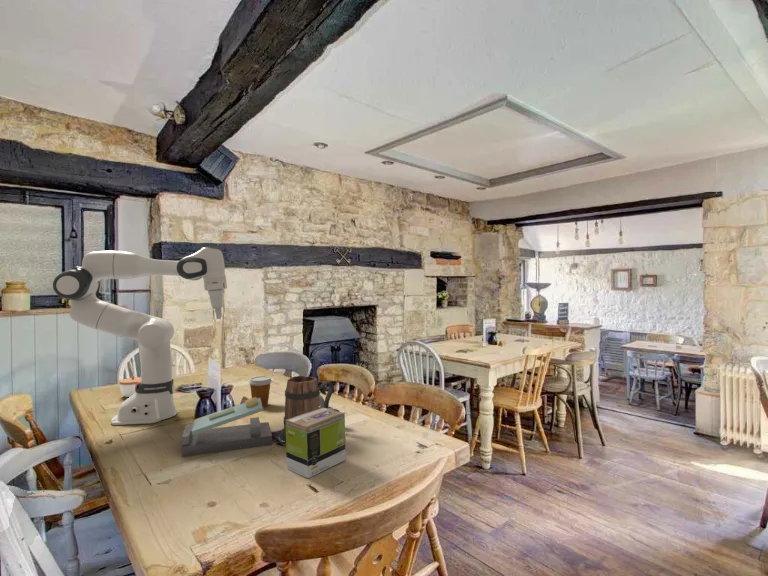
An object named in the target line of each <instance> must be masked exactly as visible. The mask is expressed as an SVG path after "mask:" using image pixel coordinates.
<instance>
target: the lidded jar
mask: <svg viewBox="0 0 768 576" xmlns="http://www.w3.org/2000/svg"><path fill="white" fill-rule="evenodd" d="M138 381H141V376H136V377H135V375H132V376H131V377H128V378H124V379H121V380H119V382H118V383H119V390H120V392H121V394H122V395H123V396H124V397H125V398H127V397H130V396H131V395H133V394H134V393H135V392H136V391H135V385H136V383H137V382H138Z"/></svg>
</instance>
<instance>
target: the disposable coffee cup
mask: <svg viewBox="0 0 768 576" xmlns="http://www.w3.org/2000/svg"><path fill="white" fill-rule="evenodd" d="M271 383H272V379H271V376H268V375H265V376H264V375H262V376H253V377H250V378H249V381H248V384H249V387H250V393H251V394H250V395H251V398H254V397H257V399H258V398H260V399H261V403H262V407H263V408H265V407H268V405H269V398H270V389H271Z"/></svg>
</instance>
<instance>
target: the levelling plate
mask: <svg viewBox="0 0 768 576" xmlns="http://www.w3.org/2000/svg"><path fill="white" fill-rule="evenodd" d="M260 412H264V407H262V403H261V399H260V398H258V399H257V397H254V398H252V397H250V398H248V399H246V400H245V401H244V402H243V403H239V404H237V405H234V406H231V407H228V408H225V409H222V410H219V411H216V412H213V413H211V414H207V415H204V416H201V417H198V418H195V419H194V422H193V428H192V435H194V434H197V433H200V432H203V431H206V430H209V429H212V428H218V427H220V426H223V425H227V424H228V423H232V422H235V421H237V420H241V419H243V418H246V417H250V416H252V415H254V414H255V415H256V414H257V413H260Z"/></svg>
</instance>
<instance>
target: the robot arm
mask: <svg viewBox="0 0 768 576" xmlns="http://www.w3.org/2000/svg"><path fill="white" fill-rule="evenodd" d="M81 261H82V262H81V266H74V267H71V268H70V269H67V270H66V271H62V272H60V273H59V274H58V275H56V277H54V280H53V282H52V289H53V291H54V293H56V295H57V296H59V297H60V298H62V299H64V300H69V301H71V306H70V308H69V317H70V318H71V319H72V320H73V321H75V322H76V323H79V324H80V325H82V326H85V327H87V328H91V329H94V330H96V331H99V332H102V333H106V334H109V335H111V336H116V337H119V338H126V339H131V340H135V341H137V344H138V352H139V359H140V360H139V361H140V377H141V381H138V382H137V383H136V385H135V391H136V392H135V393H134V394H133V395H131V396H130V397H129V398H126V399H125V400H124V401H122V403H120V405H119V408H118V411H117V414H115V415H114V416H113V417H112V418H111V420H110V424H111V426H112V425H113V426H123V425H126V426H127V425H141V424H142V425H144V424H154V423H158V422H160V421H162V420H163V421H164V420H166V419H169V418H172V417H174V416H176V415H177V414H178V412H177V409H176V405H175V399H174V392H175V383H174V379H173V358H172V348H171V339H172V338H173V336H174V334H175V328H174V325H173V324H172V323H171V322H170V321H169V320H168V319H165V318H162V317H158V316H155V315H151V314H147V313H144V312H140V311H136V310H134V309H133V310H131V309H130V308H129V309H128V308H126V307H124V306H120V305H118V304H114V303H111V302H108V301H104V300H102V299H100V298H99V297H100V288H101V282H100V281H101V280H107V279H108V280H110V279H111V280H128V279H129V280H131V279H138V278H143V277H147V276H155V275H156V276H157V275H160V276H178V277H181V278H183V279H185V280H188V281H198V280H201V279H203V287H204V291H205V292H206V291H207V293H208V295H209V300H210V304H211V308H212V309H214V312H215V317H216V320H221V319H222V316H223V314H222V308H223V305H224V301H223V294H224V293H225V289H228V282H227V276H226V274H225V273H226V272H225V268H226V266H225V259H224V254H223V251H222V250H220V249H219V248H217V247H212V246H211V247H210V246H205V247H201V248H200V249H199V250H198V251H196V252H194V253H192V254H190V255H187V256H185V257H182V258H181V259H179V260H168V259H165V260H164V259H154V258H151V257H147V256H144V255H141V254H140V253H139V254H138V253H134V252H131V251H123V250H99V251H98V250H97V251H95V250H94V251H90V252H87V253H86V254H85V255H84V256H83V257H82V260H81Z"/></svg>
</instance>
